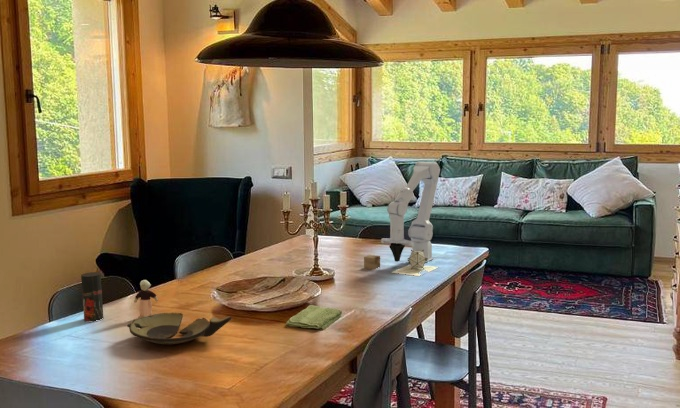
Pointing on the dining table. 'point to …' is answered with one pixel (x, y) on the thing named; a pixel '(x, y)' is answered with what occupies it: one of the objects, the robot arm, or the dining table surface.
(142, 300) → the grandmother figurine
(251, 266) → the dining table surface
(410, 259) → the game die
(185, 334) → the oil lamp
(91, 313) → the deodorant
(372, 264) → the walnut block
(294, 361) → the dining table surface
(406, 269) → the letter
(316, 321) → the washcloth
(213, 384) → the dining table surface
